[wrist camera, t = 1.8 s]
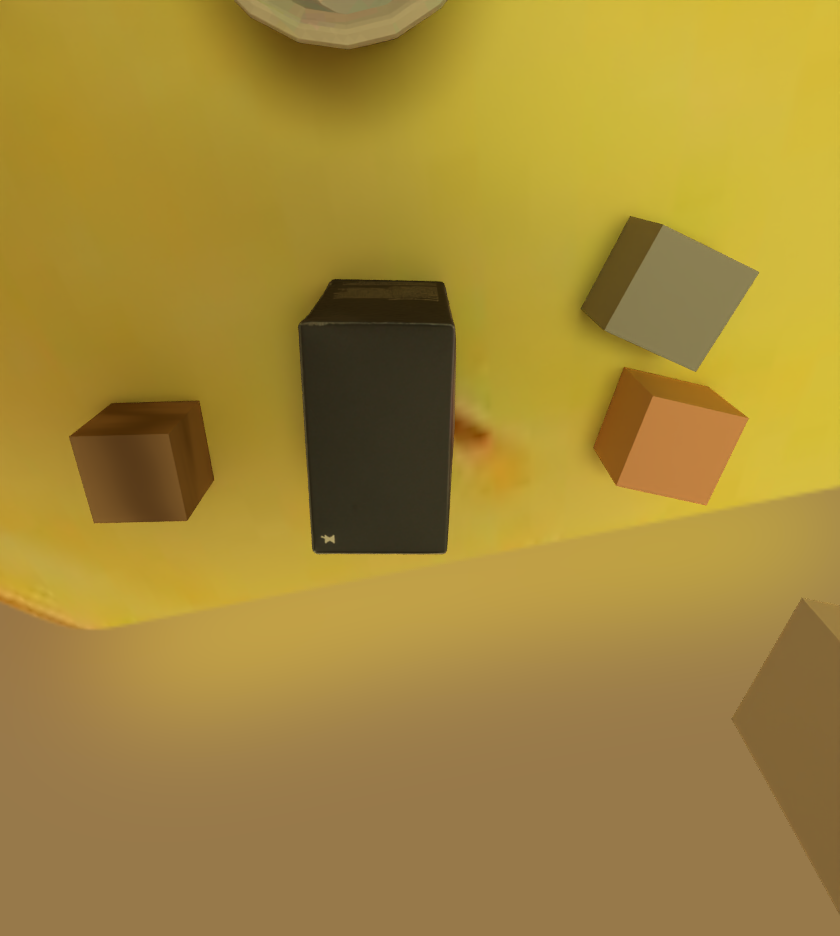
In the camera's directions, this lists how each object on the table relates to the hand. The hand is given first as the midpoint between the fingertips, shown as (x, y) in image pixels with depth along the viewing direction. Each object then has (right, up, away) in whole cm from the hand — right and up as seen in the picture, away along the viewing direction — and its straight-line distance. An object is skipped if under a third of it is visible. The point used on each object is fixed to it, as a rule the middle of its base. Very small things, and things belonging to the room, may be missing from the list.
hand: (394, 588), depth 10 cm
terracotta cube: (+14, +5, +27) cm, 30 cm away
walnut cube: (-15, +4, +27) cm, 31 cm away
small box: (-1, +7, +26) cm, 27 cm away
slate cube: (+12, +12, +23) cm, 29 cm away
